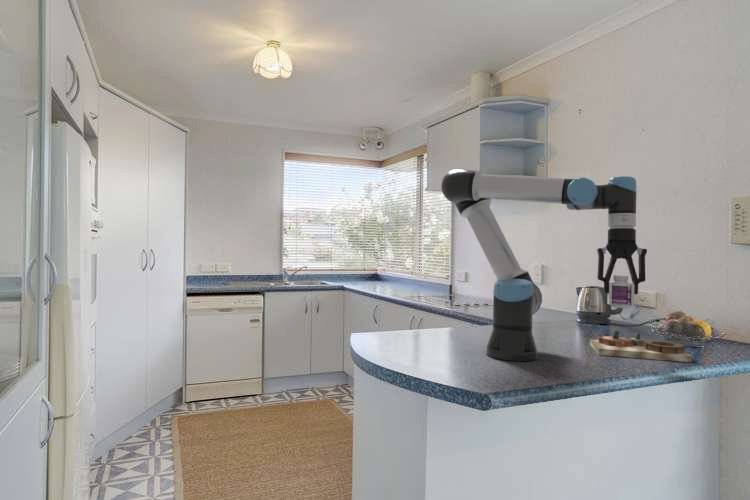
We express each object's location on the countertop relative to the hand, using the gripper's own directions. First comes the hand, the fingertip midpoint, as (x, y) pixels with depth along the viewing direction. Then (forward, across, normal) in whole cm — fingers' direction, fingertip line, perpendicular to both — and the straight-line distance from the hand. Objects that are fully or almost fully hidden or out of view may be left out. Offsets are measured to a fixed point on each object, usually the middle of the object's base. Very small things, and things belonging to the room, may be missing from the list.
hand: (620, 304), depth 143 cm
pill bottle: (+1, 0, 0) cm, 1 cm away
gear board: (+17, +8, +16) cm, 24 cm away
